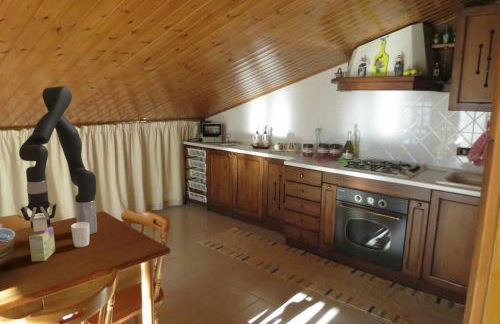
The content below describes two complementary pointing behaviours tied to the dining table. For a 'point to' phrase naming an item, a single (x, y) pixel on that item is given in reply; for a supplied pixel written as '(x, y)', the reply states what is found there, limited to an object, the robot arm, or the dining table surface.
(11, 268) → the dining table surface
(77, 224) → the white cup
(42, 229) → the cube
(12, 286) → the dining table surface
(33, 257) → the box
